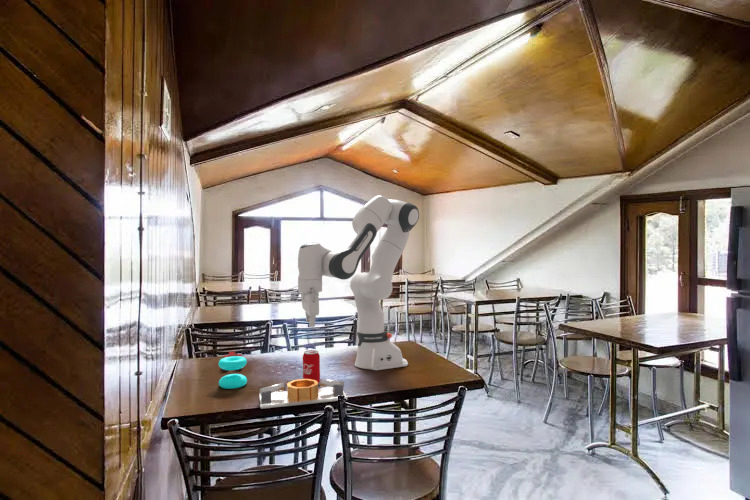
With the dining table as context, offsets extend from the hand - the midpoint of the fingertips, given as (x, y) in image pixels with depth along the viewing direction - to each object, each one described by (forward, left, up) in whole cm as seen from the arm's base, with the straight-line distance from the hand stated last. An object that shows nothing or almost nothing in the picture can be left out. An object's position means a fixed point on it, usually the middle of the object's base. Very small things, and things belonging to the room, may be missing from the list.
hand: (310, 324), depth 174 cm
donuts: (+28, -7, -22) cm, 36 cm away
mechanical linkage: (+29, -36, -23) cm, 51 cm away
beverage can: (0, 0, -22) cm, 22 cm away
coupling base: (+5, +15, -22) cm, 27 cm away
